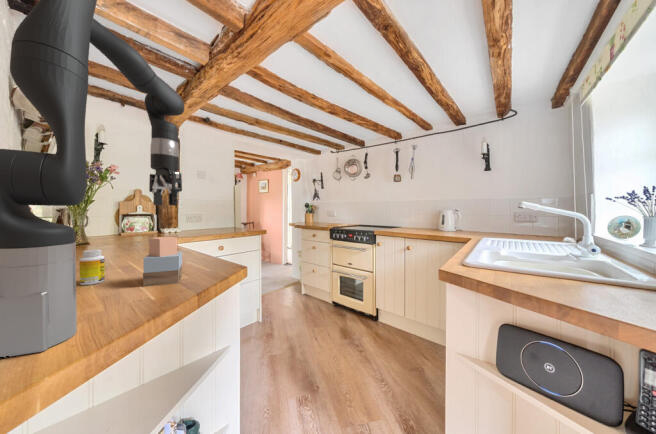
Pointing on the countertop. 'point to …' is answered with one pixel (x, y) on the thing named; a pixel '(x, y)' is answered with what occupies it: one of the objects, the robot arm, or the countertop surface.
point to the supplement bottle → (91, 267)
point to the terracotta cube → (162, 246)
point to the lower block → (162, 277)
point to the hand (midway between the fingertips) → (165, 205)
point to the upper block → (162, 263)
